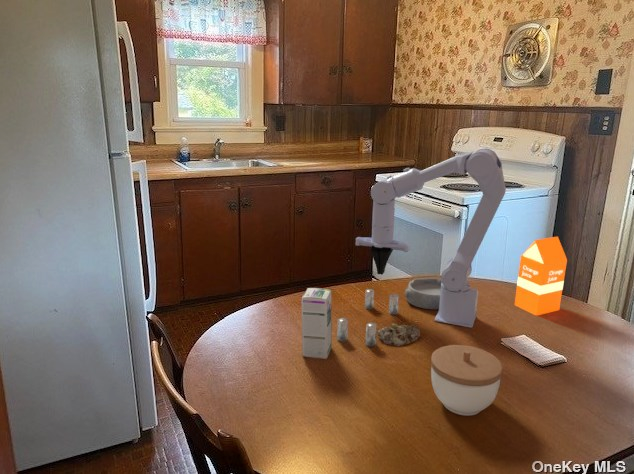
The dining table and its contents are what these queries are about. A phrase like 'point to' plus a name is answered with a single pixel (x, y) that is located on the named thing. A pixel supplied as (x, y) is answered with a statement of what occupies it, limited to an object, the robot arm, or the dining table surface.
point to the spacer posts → (370, 327)
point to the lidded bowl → (465, 378)
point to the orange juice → (541, 277)
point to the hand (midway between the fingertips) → (380, 273)
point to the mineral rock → (398, 334)
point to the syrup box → (316, 323)
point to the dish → (424, 293)
